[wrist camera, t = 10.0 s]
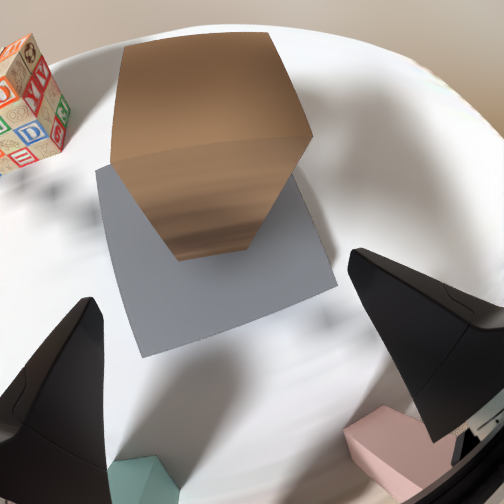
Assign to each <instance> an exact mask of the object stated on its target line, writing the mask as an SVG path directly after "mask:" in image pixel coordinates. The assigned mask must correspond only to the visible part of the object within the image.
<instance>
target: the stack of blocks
mask: <svg viewBox="0 0 504 504" xmlns="http://www.w3.org/2000/svg"><path fill="white" fill-rule="evenodd" d="M69 113H70V108H69V106H68V104H67V102H66V100H65V99H64V97H63V95H62V94H61V92H60V90H59V88H58V86H57V84H56V82H55V80H54V78H53V76H52V75H51V72H50V69H49V67H48V66H47V63H46V61H45V59H44V57H43V55H42V54H41V52H40V50H39V48H38V46H37V44H36V41H35V39H34V36H33V34H32V33H30V34H28V35H27V36H25V37H23V38H21V39H19V40H18V41H16V42H14V43H12V44H11V45H9V46H7V47H3V48H2V49H0V176H2V175H3V174H6V173H8V172H10V171H13V170H15V169H17V168H19V167H20V168H21V167H23V166H26V165H28V164H31V163H34V162H36V161H39V160H42V159H45V158H48V157H51V156H53V155H56V154H59V153H61V152H62V148H63V142H64V137H65V132H66V126H67V121H68V117H69Z"/></svg>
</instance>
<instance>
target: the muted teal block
mask: <svg viewBox="0 0 504 504" xmlns="http://www.w3.org/2000/svg"><path fill="white" fill-rule="evenodd" d="M107 472H108V480H109V487H110V493H111V499H112V504H178V501H179V494H180V490H179V489H178V487H177V486H176V484H175V483H174V482H173V480H172V479H171V477H170V476H169V474H168V473H167V471H166V470H165V468H164V467H163V465H162V464H161V462H160V460H159V459H158V457H157V455H155V456H149V457H143V458H136V459H128V460H120V461H113V462H112V464H111V465H110V467H109V468H108V470H107Z"/></svg>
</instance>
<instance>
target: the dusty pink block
mask: <svg viewBox="0 0 504 504" xmlns="http://www.w3.org/2000/svg"><path fill="white" fill-rule="evenodd" d="M343 432H344V435H345V438H346V442H347V445H348V448H349V451H350V454H351V457H352V460H353V462H354V463H355V464H357V465H358V466H359V467H360V468H361V469H362V470H363V471H364V472H365V473H366V474H367V475H369V476H370V477H371V478H372V479H373V480H374V481H375V482H376V483H378V484H379V485H380V486H381V487H382V488H383V489H384V490H386V491H387V492H388V493H389V494H390V495H392V496H393V497H394V498H395V499H396V500H398V501H399V502H400V503H403V502H405V501H406V500H408V499H410V498H411V497H413V496H414V495H416V494H417V493H419V492H420V491H422V490H423V489H425V488H426V487H427V486H429V485H430V484H432V483H433V482H434V481H436V480H437V479H438V478H440V477H441V476H442V475H444V474H445V473H446V472H447V471H449V470H450V469H451V468H452V466H451V460H452V456H453V452H454V447H455V442H456V437H457V436H454V435H452V434H448V435H446V436H445V437H443V438H442V439H440V440H439V441H437V442H436V443H434V444H433V442H432V441H431V438H430V436H429V434H428V431H427V429H426V427H425V425H424V423H422V422H420V421H418V420H415V419H413V418H411V417H409V416H406V415H404V414H402V413H400V412H398V411H396V410H393V409H391V408H389V407H387V406H385V405H382V406H381V407H379V408H377V409H376V410H374V411H373V412H371V413H370V414H368V415H366V416H365V417H363V418H361V419H360V420H358V421H356V422H355V423H353V424H351V425H349V426H348V427H346V428H344V429H343Z"/></svg>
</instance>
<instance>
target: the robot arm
mask: <svg viewBox="0 0 504 504" xmlns="http://www.w3.org/2000/svg"><path fill="white" fill-rule="evenodd" d="M348 274H349V277H350V279H351V281H352V283H353V285H354V287H355V289H356V292H357V294H358V296H359V298H360V300H361V303H362V305H363V307H364V308H365V310H366V312H367V314H368V316H369V317H370V319H371V321H372V323H373V324H374V326H375V328H376V330H377V331H378V333H379V335H380V337H381V339H382V340H383V342H384V344H385V346H386V348H387V350H388V351H389V353H390V355H391V357H392V359H393V361H394V363H395V365H396V367H397V369H398V370H399V372H400V374H401V376H402V378H403V380H404V382H405V384H406V386H407V388H408V390H409V392H410V394H411V396H412V398H413V401H414V403H415V405H416V407H417V409H418V412H419V414H420V416H421V418H422V420H423V422H424V425H425V427H426V429H427V431H428V434H429V436H430V438H431V441H432V442H433V444H434V443H436V442H437V441H439V440H440V439H442V438H443V437H445V436H446V435H448V434H449V433H451V432H452V431H453V430H455V429H456V428H457V427H459V426H460V425H461V424H463V423H464V422H465V421H466V423H467V425H468V428H467V429H466V430H465V431H463V432H462V433H461V434H460V435H459V436H458V437H456V442H455V447H454V452H453V456H452V460H451V466H452V468H451V469H450V470H449V471H447V472H446V473H445V474H444V475H442V476H441V477H440V478H438V479H437V480H436V481H434V482H433V483H432V484H430V485H429V486H427V487H426V488H425V489H423V490H422V491H420V492H419V493H417V494H416V495H414V496H413V497H411V498H410V499H408V500H406V501H405V502H403V503H401V504H499V503H500V502H501V501H502V499H503V498H504V307H499V306H496V305H494V304H491V303H489V302H486V301H484V300H482V299H479V298H477V297H474V296H472V295H469V294H467V293H465V292H462V291H460V290H458V289H455V288H453V287H451V286H449V285H447V284H445V283H442V282H440V281H438V280H436V279H434V278H431V277H429V276H427V275H425V274H423V273H420V272H418V271H416V270H414V269H411V268H409V267H407V266H404V265H402V264H400V263H397V262H395V261H393V260H390V259H388V258H386V257H383V256H381V255H379V254H376V253H374V252H371V251H369V250H367V249H364V248H357V249H353V250H352V251H351V253H350V258H349V263H348ZM103 383H104V319H103V315H102V313H101V311H100V309H99V307H98V305H97V303H96V301H95V300H94V298H93V297H86V298H82V299H80V301H79V302H78V303H77V304H76V305H75V306H74V307H73V308H72V309H71V310H70V312H69V313H68V314H67V315H66V316H65V317H64V318H63V319H62V321H61V322H60V323H59V324H58V325H57V326H56V327H55V329H54V330H53V331H52V332H51V333H50V334H49V336H48V337H47V338H46V339H45V340H44V342H43V343H42V344H41V345H40V347H39V348H38V349H37V350H36V352H35V353H34V354H33V355H32V357H31V358H30V359H29V360H28V362H27V363H26V364H25V367H23V368H22V370H21V371H20V372H19V374H18V375H17V376H16V378H15V379H14V380H13V382H12V383H11V384H10V385H9V387H8V388H7V389H6V390H5V392H4V393H3V394H2V395H1V397H0V504H112V499H111V493H110V487H109V480H108V472H107V465H106V454H105V441H104V420H103Z"/></svg>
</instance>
